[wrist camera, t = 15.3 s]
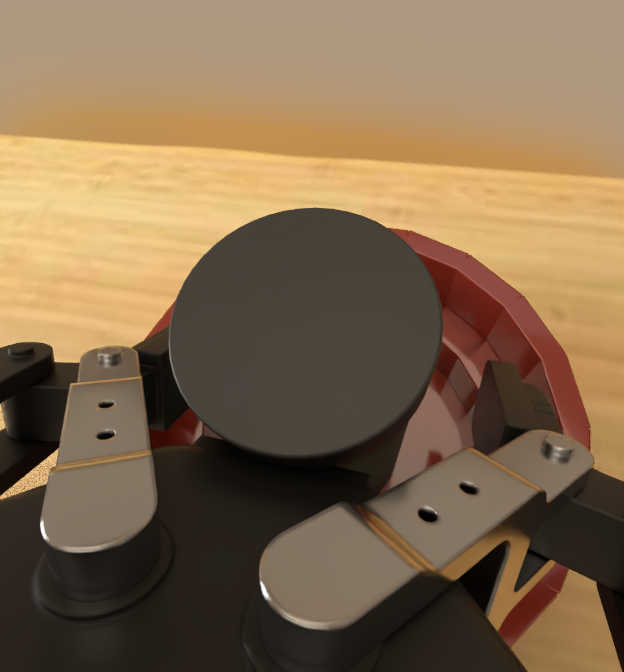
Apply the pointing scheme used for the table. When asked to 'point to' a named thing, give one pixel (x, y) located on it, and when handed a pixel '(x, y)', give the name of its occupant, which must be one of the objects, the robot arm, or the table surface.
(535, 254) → the table surface
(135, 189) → the table surface
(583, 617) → the table surface
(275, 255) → the tube
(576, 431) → the bowl
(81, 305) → the table surface
